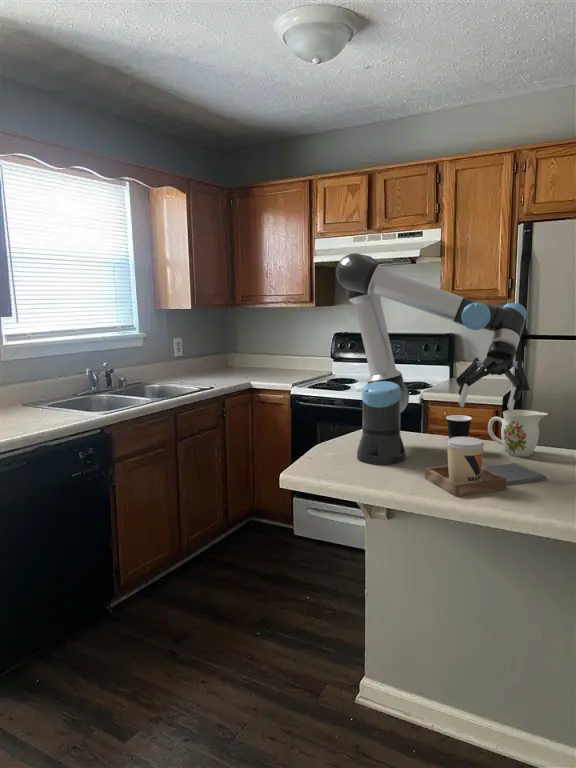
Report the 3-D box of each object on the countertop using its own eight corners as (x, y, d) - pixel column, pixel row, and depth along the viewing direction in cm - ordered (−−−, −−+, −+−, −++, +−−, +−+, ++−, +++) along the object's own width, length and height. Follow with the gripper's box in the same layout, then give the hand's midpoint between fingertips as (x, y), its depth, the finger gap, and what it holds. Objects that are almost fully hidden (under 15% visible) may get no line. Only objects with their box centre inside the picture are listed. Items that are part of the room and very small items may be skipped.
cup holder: (424, 478, 154) (425, 468, 154) (471, 472, 158) (472, 462, 158) (455, 496, 140) (455, 485, 139) (506, 489, 144) (506, 478, 144)
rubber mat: (475, 471, 160) (476, 467, 160) (514, 466, 163) (514, 463, 163) (505, 485, 147) (505, 481, 147) (546, 479, 151) (546, 476, 151)
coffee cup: (470, 492, 143) (471, 447, 141) (439, 484, 150) (439, 440, 148) (489, 484, 149) (490, 440, 147) (458, 476, 156) (459, 434, 154)
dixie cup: (476, 450, 180) (477, 417, 179) (460, 455, 176) (461, 421, 174) (455, 446, 187) (456, 413, 185) (440, 450, 182) (441, 417, 180)
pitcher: (493, 445, 187) (494, 405, 185) (550, 453, 175) (553, 411, 173) (481, 452, 178) (482, 410, 176) (540, 462, 167) (542, 417, 165)
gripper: (550, 357, 159) (534, 418, 149) (465, 354, 174) (445, 410, 165) (546, 340, 154) (528, 402, 144) (458, 339, 169) (437, 395, 160)
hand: (484, 406), depth 155 cm, fingers open, 13 cm apart
